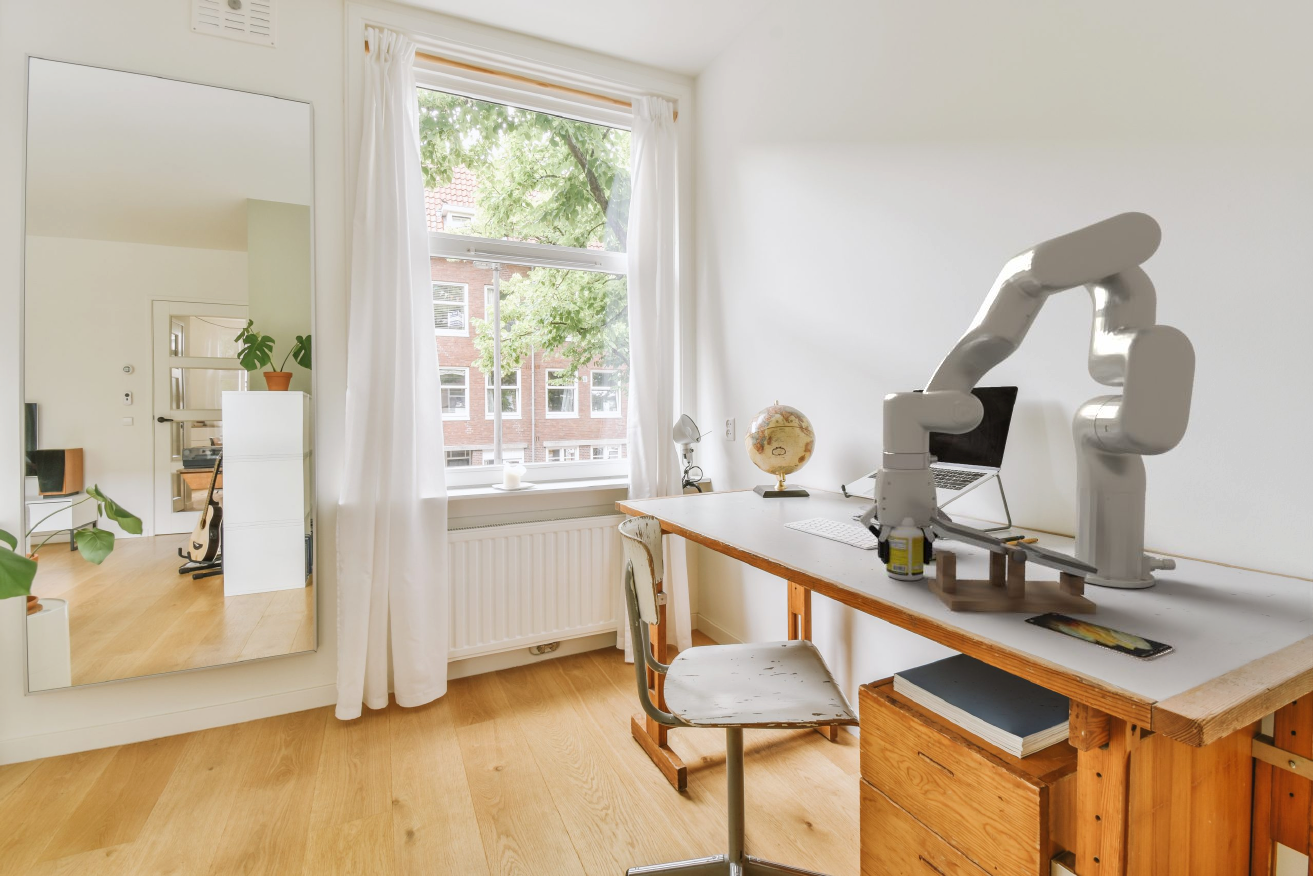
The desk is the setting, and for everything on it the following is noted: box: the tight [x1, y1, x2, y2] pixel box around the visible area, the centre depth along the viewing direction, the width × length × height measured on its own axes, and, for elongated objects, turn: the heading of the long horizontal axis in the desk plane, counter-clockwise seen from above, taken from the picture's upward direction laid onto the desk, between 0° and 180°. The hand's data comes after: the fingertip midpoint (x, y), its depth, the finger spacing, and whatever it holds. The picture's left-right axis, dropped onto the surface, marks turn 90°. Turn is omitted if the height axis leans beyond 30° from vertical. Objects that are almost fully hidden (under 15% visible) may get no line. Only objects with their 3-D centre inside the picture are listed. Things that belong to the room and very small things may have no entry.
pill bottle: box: [885, 518, 924, 581], centre depth 108 cm, size 6×6×11 cm
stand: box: [927, 536, 1097, 615], centre depth 94 cm, size 20×11×9 cm, turn 83°
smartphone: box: [1023, 613, 1174, 661], centre depth 81 cm, size 7×1×15 cm
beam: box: [929, 516, 1098, 578], centre depth 94 cm, size 22×8×2 cm, turn 84°
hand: (904, 561), depth 108 cm, fingers closed on pill bottle, 6 cm apart
